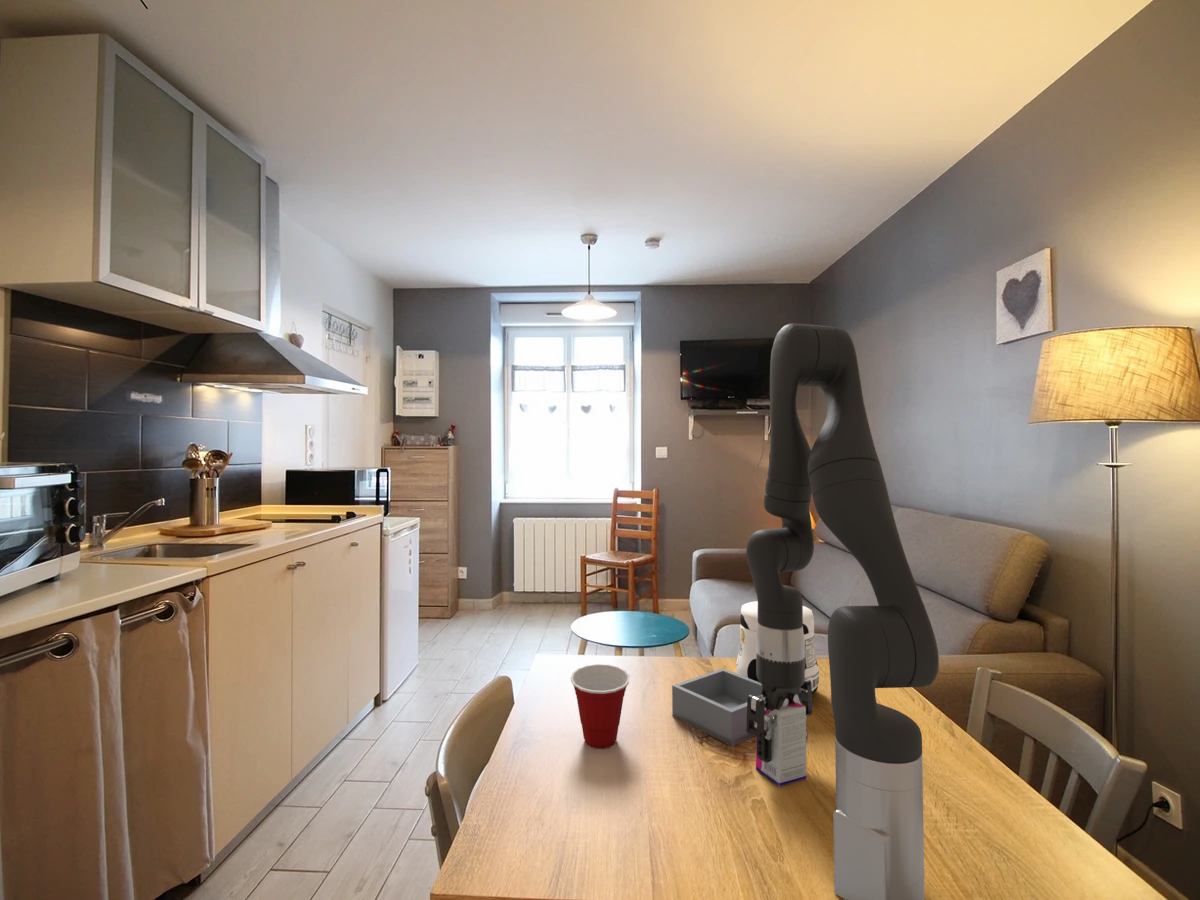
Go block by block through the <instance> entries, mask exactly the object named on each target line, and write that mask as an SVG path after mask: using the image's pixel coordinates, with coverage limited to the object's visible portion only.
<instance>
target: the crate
mask: <svg viewBox="0 0 1200 900" xmlns="http://www.w3.org/2000/svg"><path fill="white" fill-rule="evenodd" d="M761 690H762V685H761V683H760V682H757V681H754V680H752V679H749V678H746V677H744V676H741V675H739V674H737V672H736V673H735V672H732V670H728V669H726V668H720V669H717V670H715V671H711V672H708V673H706V674H702V675H699V676H695V677H693V678H690V679H687V680H685V681H682V682H678V683H675V684H672V686H671V693H672V695H671V697H672V700H671V701H672V703H671V705H672V710H671V711H672V712H671V713H672V715H671V716H672V717H674V718H676V719H678V720H680V721H681V722H684V723H685V724H687V725H689V726H691V727H693V728H695V729H698V730H699V731H700V732H703V733H705V734H707V735H709V736H711V737H713V738H715V739H716V740H719V741H721V742H722V743H725V744H726V745H728V746H730V747H734V746H735V745H738V744H740V743H742V742H745V741H746V740H748V739H752V738H753V737H754V736H753V735H751V734H749V733H747V731H746V728H747V698H748V696H749V695H750V694H751V695H753V696H759V695H760V694H761ZM755 725H756V722H755V721H754V727H755Z"/></svg>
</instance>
